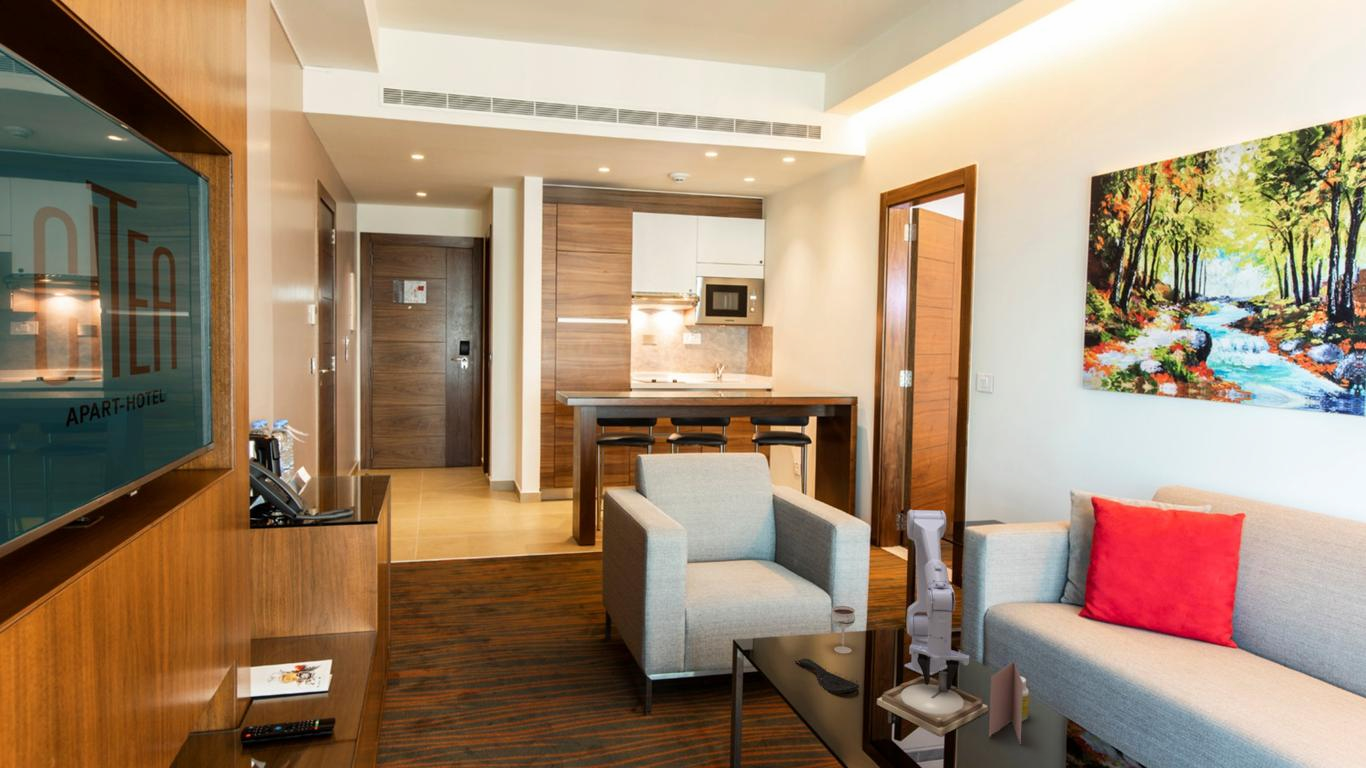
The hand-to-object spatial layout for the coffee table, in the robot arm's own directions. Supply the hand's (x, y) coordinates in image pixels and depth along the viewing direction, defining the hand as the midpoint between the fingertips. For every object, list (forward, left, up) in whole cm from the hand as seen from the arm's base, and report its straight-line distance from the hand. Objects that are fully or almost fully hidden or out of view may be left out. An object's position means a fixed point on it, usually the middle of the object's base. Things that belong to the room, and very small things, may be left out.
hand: (938, 685), depth 213 cm
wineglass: (-3, -35, -4) cm, 35 cm away
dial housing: (+5, +2, -4) cm, 7 cm away
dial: (+5, +2, -2) cm, 6 cm away
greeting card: (0, +21, -4) cm, 22 cm away
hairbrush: (+15, -26, -4) cm, 30 cm away
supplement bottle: (-8, +17, -4) cm, 19 cm away
